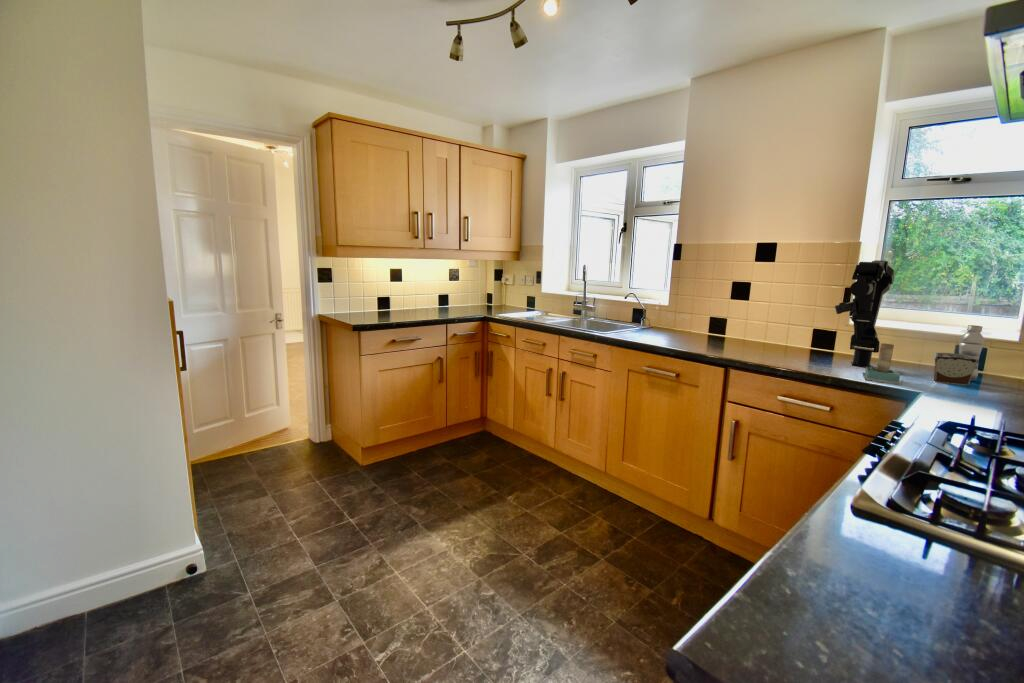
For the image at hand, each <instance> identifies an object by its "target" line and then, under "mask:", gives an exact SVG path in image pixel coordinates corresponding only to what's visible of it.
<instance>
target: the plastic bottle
mask: <svg viewBox="0 0 1024 683" xmlns="http://www.w3.org/2000/svg"><path fill="white" fill-rule="evenodd" d="M966 331H967V332H965V333H964V334H963V335H961V336H960V337H959V340H958V341H959V345H958V354H962V355H968V356H973V357H978V360H980V356H981V352H982V350H983V348H984V345H985V342H986V341H985V338H984V336H983V335H982V333H981V332H983V326H982V325H975V324H974V325H967V328H966ZM978 368H979V364H978V363H976V366H975V368H974V371H973V374H972V377H971V379H970V382H971V381H975V380H977V378H978V376H979V369H978Z"/></svg>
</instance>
